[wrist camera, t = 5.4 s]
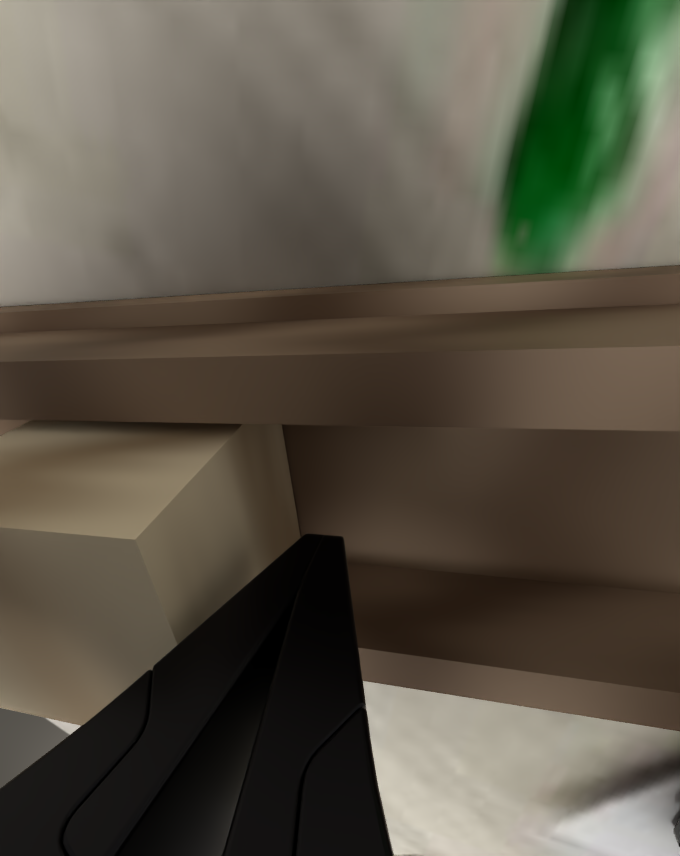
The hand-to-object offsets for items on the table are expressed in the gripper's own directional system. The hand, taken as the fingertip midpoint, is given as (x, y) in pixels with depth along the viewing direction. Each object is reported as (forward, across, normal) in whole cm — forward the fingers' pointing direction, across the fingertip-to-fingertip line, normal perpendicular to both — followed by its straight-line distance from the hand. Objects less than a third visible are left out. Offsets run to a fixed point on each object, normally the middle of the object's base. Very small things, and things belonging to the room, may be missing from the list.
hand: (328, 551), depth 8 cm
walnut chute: (+4, +5, 0) cm, 6 cm away
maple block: (+2, +4, 0) cm, 5 cm away
